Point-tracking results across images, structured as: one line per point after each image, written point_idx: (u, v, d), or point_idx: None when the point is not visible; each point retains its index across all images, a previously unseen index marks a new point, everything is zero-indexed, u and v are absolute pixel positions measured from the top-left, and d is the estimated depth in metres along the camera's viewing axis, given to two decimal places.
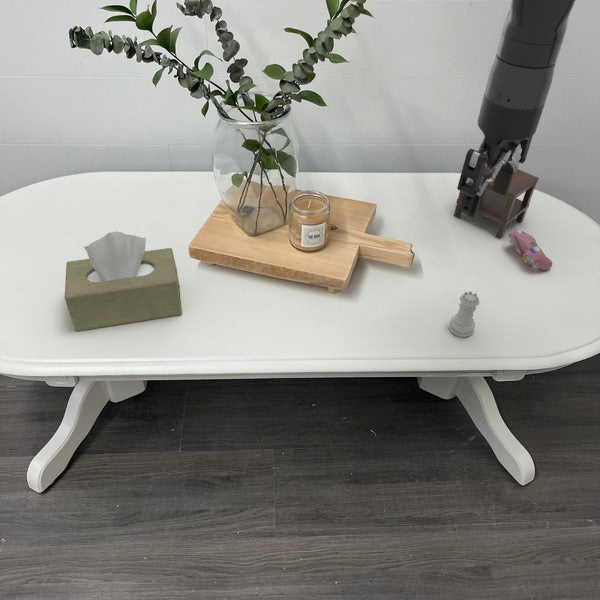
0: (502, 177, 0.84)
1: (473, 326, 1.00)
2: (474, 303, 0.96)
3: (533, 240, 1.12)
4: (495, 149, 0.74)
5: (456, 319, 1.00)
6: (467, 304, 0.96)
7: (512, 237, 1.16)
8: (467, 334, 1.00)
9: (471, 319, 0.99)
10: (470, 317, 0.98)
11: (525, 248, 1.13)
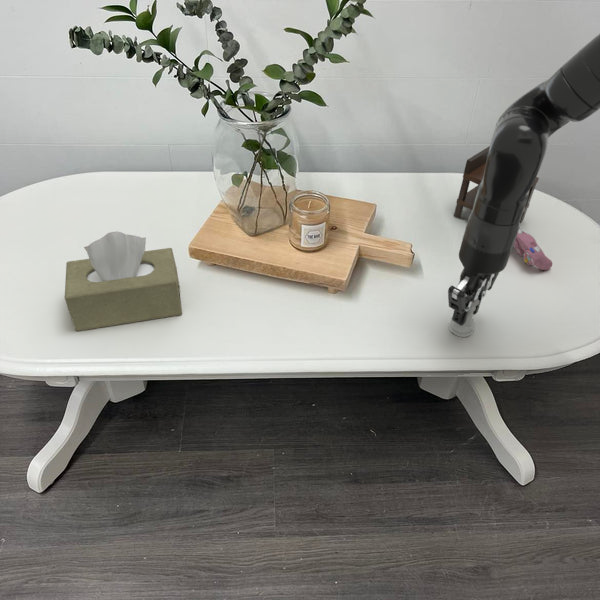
0: None
1: (473, 326, 1.00)
2: (474, 303, 0.96)
3: (533, 240, 1.12)
4: (471, 282, 0.90)
5: None
6: None
7: None
8: (467, 334, 1.00)
9: (471, 319, 0.99)
10: (470, 317, 0.98)
11: (525, 248, 1.13)
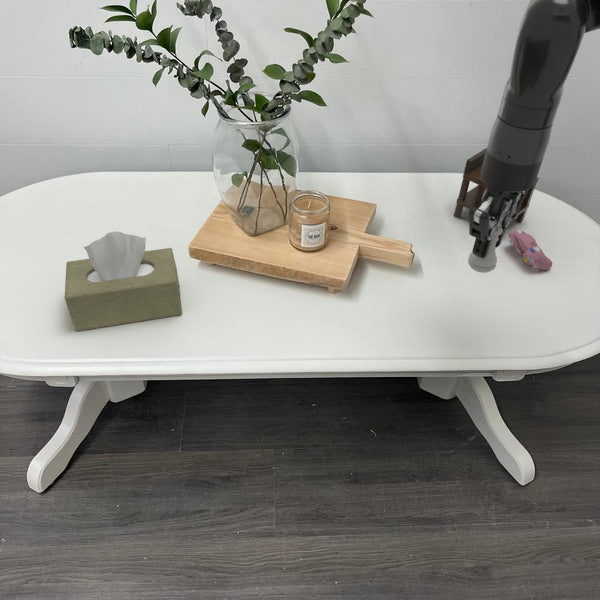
0: None
1: (495, 260, 0.90)
2: (497, 231, 0.86)
3: (533, 240, 1.12)
4: (496, 202, 0.80)
5: None
6: None
7: (512, 237, 1.16)
8: (489, 269, 0.90)
9: (493, 252, 0.89)
10: (492, 249, 0.88)
11: (525, 248, 1.13)
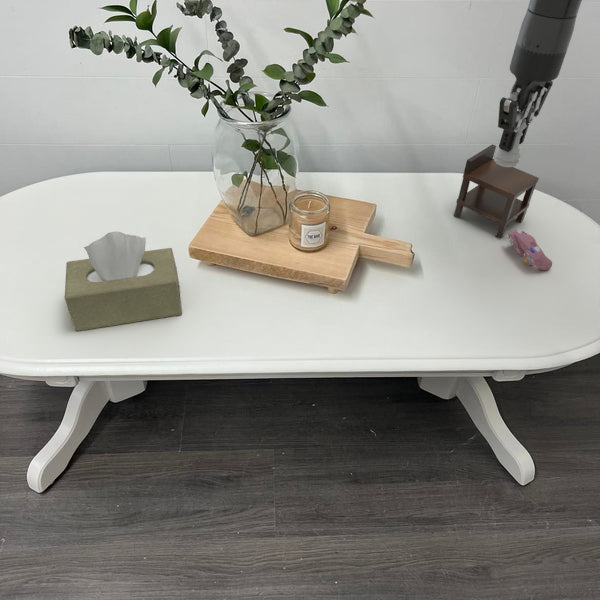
0: None
1: (519, 155, 0.99)
2: (522, 125, 0.95)
3: (533, 240, 1.12)
4: (524, 92, 0.89)
5: None
6: None
7: (512, 237, 1.16)
8: (513, 164, 0.99)
9: (517, 147, 0.98)
10: (517, 144, 0.98)
11: (525, 248, 1.13)
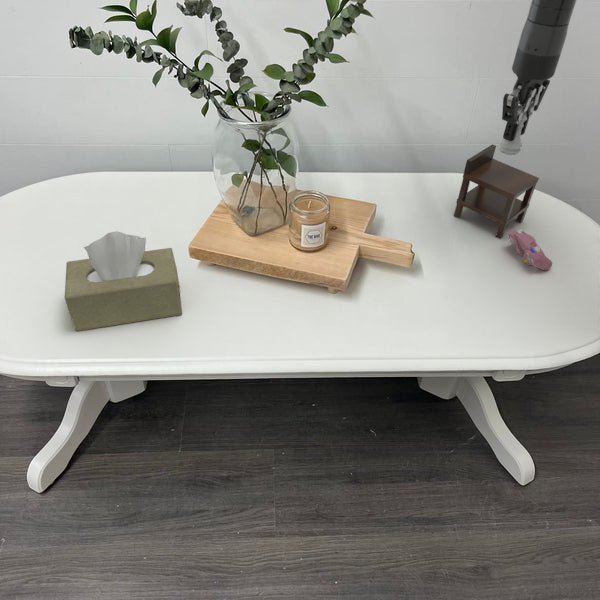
0: None
1: (520, 145, 1.14)
2: (523, 118, 1.10)
3: (533, 240, 1.12)
4: (524, 88, 1.04)
5: None
6: None
7: (512, 237, 1.16)
8: (515, 152, 1.14)
9: (519, 137, 1.13)
10: (518, 134, 1.12)
11: (525, 248, 1.13)
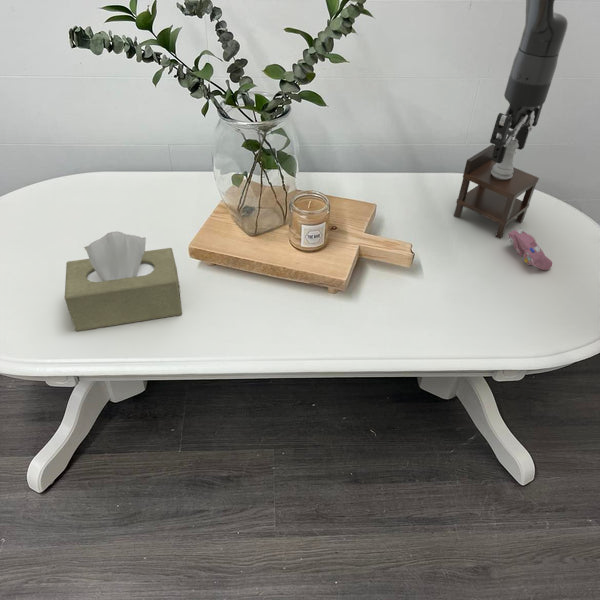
0: (520, 136, 1.17)
1: (512, 170, 1.18)
2: (515, 145, 1.14)
3: (533, 240, 1.12)
4: (517, 113, 1.07)
5: (498, 164, 1.18)
6: (509, 146, 1.14)
7: (512, 237, 1.16)
8: (507, 177, 1.18)
9: (511, 163, 1.17)
10: (510, 160, 1.16)
11: (525, 248, 1.13)
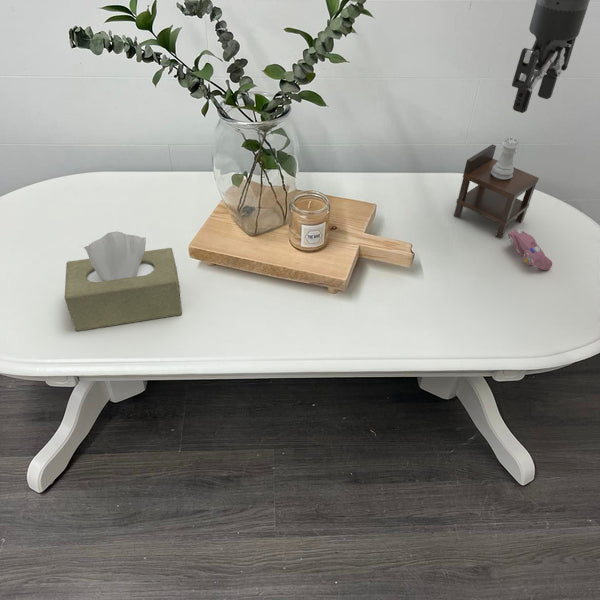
0: (547, 82, 0.99)
1: (512, 170, 1.18)
2: (515, 145, 1.14)
3: (533, 240, 1.12)
4: (545, 48, 0.89)
5: (498, 164, 1.18)
6: (509, 146, 1.14)
7: (512, 237, 1.16)
8: (507, 177, 1.18)
9: (511, 163, 1.17)
10: (510, 160, 1.16)
11: (525, 248, 1.13)
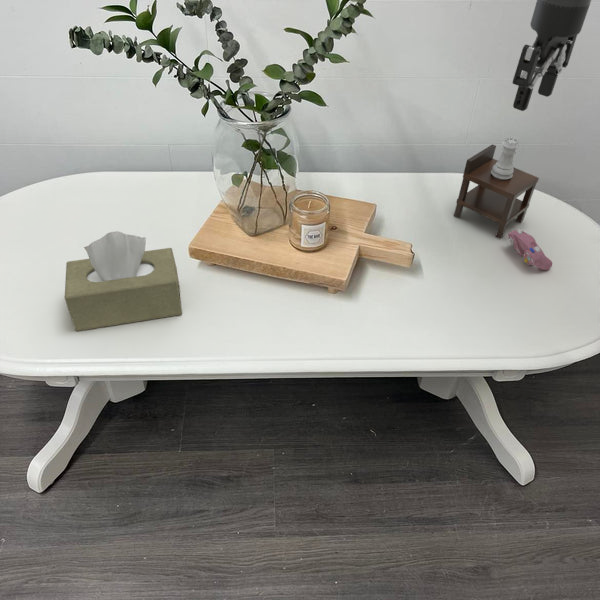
0: (547, 79, 0.97)
1: (512, 170, 1.18)
2: (515, 145, 1.14)
3: (533, 240, 1.12)
4: (546, 45, 0.87)
5: (498, 164, 1.18)
6: (509, 146, 1.14)
7: (512, 237, 1.16)
8: (507, 177, 1.18)
9: (511, 163, 1.17)
10: (510, 160, 1.16)
11: (525, 248, 1.13)
